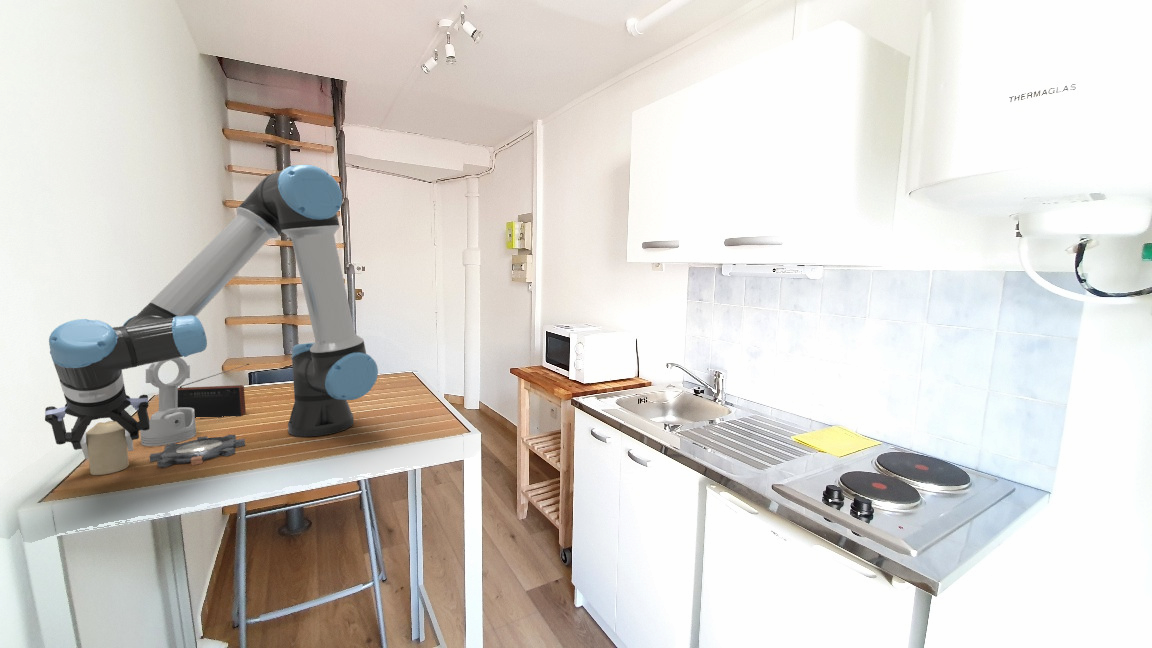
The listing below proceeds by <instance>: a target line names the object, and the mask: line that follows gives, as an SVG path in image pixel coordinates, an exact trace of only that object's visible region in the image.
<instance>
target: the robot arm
mask: <svg viewBox="0 0 1152 648" xmlns="http://www.w3.org/2000/svg"><path fill="white" fill-rule="evenodd" d="M342 193H343V192H342V190H341V188H340V185H339V183H338V181H337V180H336V179H335V178H334V176H332V175H331V174H330V173H329V172H327V171H326V170H324V169H323V168H321V167H319V166H315V165H311V164H300V165H290V166H287V167H286V168H283V170H279V171H277V172H274V173H273V172H272V173H270V174H268V175H267V176H266V177H264V178H263V179H262V180H261V181H259V183H258V185H256V187H255V188H254V189H253V190H252V191H251V192H250V193H249V195H248V196H246V198H245V199H244V200H243V201H242V203H240V204H239V206H237V208H236V209H235V210H236V216H235V217H234V218H233V219H232V221H230V222H229V223H228V225H227V226H225V228H223V229H222V230H221V231H220V232H219V233H218V234H217V235H216V236H215V237H214V238H213V239H212V240H211V241H210V242H209V243H208V244H207V245H206V246H205V247H204V248H203V249H202V250H201V251H200V252H199V253H198V254H197V255H196V256H195V257H194V258H193V259H192V260H191V261H190V262H188V264H186V266H185V267H184V268H183V269H182V270H181V271H180V272H179V273H178V274H177V275H176V276H175V277H174V278H173V279H171V281H170V282H169V283H168V284H167V285H166V286H165V287H163V289H162V290H161V291H159V293H157V294H156V295H155V297H153V299H151V300H150V301H149V302H148V304H147V305H146V306H145V307H143V308H142V309H141V310H140V312H138V314H137V315H133V316H132V317H130V318H128V319H127V320H126V321H125V322H124V323H123V325H122V326H113V327H112V326H111V325H110V324H109V323H107V322H104V321H101V320H99V319H98V320H97V319H87V318H81V319H79V318H78V319H73V320H70V321H66V322H64V323H62V324H60V325H58V326H57V327H55V329H53V331H51V333H50V335H49V338H48V345H49V350H50V351H49V354H50V356H51V360H52V362H53V365H54V368H55V371H56V373H57V376H58V380H59V384H60V386H61V389H62V392H63V396H64V399H65V405H64V406H61V407H56V406H54V405H53V406H52V405H51V406H47V407H45V409H44V410H45V411H44V414H45V415H44V421H45V422H46V423H48V424H50V425H51V429H52V432H53V436H54V440H55V444H57V445H64V444H66V443H70V444H71V445H72V448H73V449H74V450H75V451H77V450H78V451H79V450H82V453H83V456H84V460H89V456H88V447H87V437H86V432H87V428H88V427H89V426H90V424H91V423H92V421H95V420H100V419H111V420H110V421H116V422H117V423H118V424H120V425H121V426H122V427H123V428H124V429H125V437H126V442H127V451H128V452H133V451H134V440H139V439H140V430H144V431H145V430H149V429H150V427H149V420H150V417H149V413H148V408H149V396H148V395H149V394H142V395H140V396H139V397H137V398H136V397H134V398H133V397H132V398H131V397H130V396H129V395H128V394H127V392H126V388H125V381H124V376H123V375H124V374H123V370H127V369H133V368H136V367H140V366H145V365H149V364H150V365H151V363H155V362H160V361H164V360H169V359H174V358H179V357H180V358H183V357H184V358H186V357H189V356H192V355H194V354H198V353H202V352H204V351H205V350H206V349H207V346H208V340H207V336H206V332H205V328H204V326H203V323H202V322H201V320H200V319H199V318H198V317H197V316H198V315H199V314H200V313H201V312H202V310H204V309H205V308H206V306H208V305H209V303H211V301H212V300H213V299H214V298H216V296H217V295H218V294H219V293H220V292H221V290H223V289H224V287H225V286H226V285H228V283H230V281H232V279H233V278H234V277H235V276H236V275H237V274H238V272H240V271H241V270H242V268H243V267H244V266H245V265H246V264H247V263H248V262H249V261H250V260H251V259H252V258H253V257H254V256H255V255H256V254H257V252H259V251H260V249H261V248H263V246H264V245H266V243H267V242H268V241H269V240H271V239H277V238H278V237H279V236H281V234H282V233H283V234H284V235H286V236H287V237H288V238H290V239H291V242H292V248H293V251H294V252H293V253H294V256H295V260H296V264H297V269H298V273H299V277H300V281H301V286H302V290H303V294H304V298H305V303H306V307H307V311H308V312H307V313H308V315H309V319H310V320H309V321H310V324H311V328H312V332H313V337H314V342H307V343H298V344H295V345H294V346H293V347H292V350H291V351H292V353H291V356H290V357H291V358H290V359H291V363H292V378H293V379H292V380H293V392H294V393H293V395H294V403H293V407H292V409H291V414H290V417H289V420H288V421H287V422H288V423H287V432H288V434H289V435H291V436H294V437H302V438H304V437H306V438H307V437H318V436H319V437H320V436H327V435H331V434H335V433H339V432H342V431H345V430H348V429H349V428H350V427H352V426H353V425H354V423H355V422H354V414H353V412H352V411H351V407H350V404H349V402H348V401H353V400H357V399H360V398H362V397H364V396H365V395H367V394H368V393H369V392H370V391H371V390H372V388H373V386H374V385H375V384H376V382H377V379H378V375H379V369H378V365H377V362H376V361H375V359H374V358H373V357H372V356H371V355H369V354H367V351H366V345H365V341H364V338H362V337H361V336H360V335H358V334H357V333H356V332H355V328H354V327H355V326H354V323H353V318H352V314H351V313H352V312H351V308H350V304H349V299H348V294H347V288H346V285H345V281H344V275H343V271H342V265H341V261H340V257H339V252H338V248H337V243H336V237H335V234H336V232H337V231H338V230H339V228H340V223H339V216H338V212H339V211H340V210H341V208H342V204H343V194H342ZM129 406H132V408H133V409H134V410H135V411H136V413H137V417H138V421H137V420H136V419H135V418H134V417H133V416H132V415H131V414H130V413H129V412H127V410H126V409H127V408H128V407H129ZM66 415H69V416H72V417H76V420H75V423H74V425H73V427H72V428H70V429H71V430H70V431H71V432H70V431H67V430H66V425H65V419H64V418H65V417H66Z"/></svg>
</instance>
